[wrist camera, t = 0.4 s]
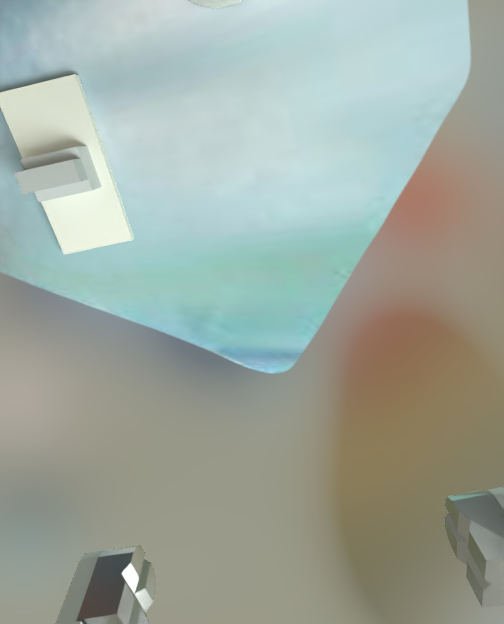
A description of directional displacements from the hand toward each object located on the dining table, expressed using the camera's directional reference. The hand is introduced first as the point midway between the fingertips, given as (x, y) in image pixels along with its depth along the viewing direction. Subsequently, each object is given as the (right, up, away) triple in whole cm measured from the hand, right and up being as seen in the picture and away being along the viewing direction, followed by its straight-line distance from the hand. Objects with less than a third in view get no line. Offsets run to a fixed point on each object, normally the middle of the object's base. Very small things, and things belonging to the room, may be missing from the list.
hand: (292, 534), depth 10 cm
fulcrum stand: (-25, +24, +39) cm, 52 cm away
